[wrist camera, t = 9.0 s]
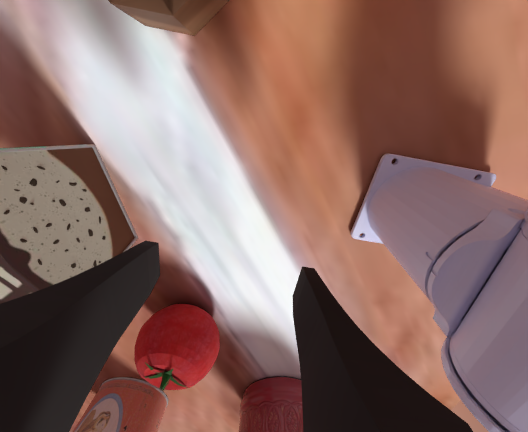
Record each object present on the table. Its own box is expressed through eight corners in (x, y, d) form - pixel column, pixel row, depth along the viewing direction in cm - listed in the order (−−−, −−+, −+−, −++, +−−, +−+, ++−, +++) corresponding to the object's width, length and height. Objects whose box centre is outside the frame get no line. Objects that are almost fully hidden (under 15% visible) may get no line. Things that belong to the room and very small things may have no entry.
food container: (19, 136, 18) (-229, 161, 9) (85, 124, 18) (-110, 141, 9) (91, 255, 24) (-22, 345, 15) (143, 249, 23) (60, 340, 14)
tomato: (147, 288, 25) (97, 359, 18) (222, 290, 25) (201, 362, 18) (164, 337, 29) (128, 411, 22) (228, 339, 29) (214, 415, 22)
